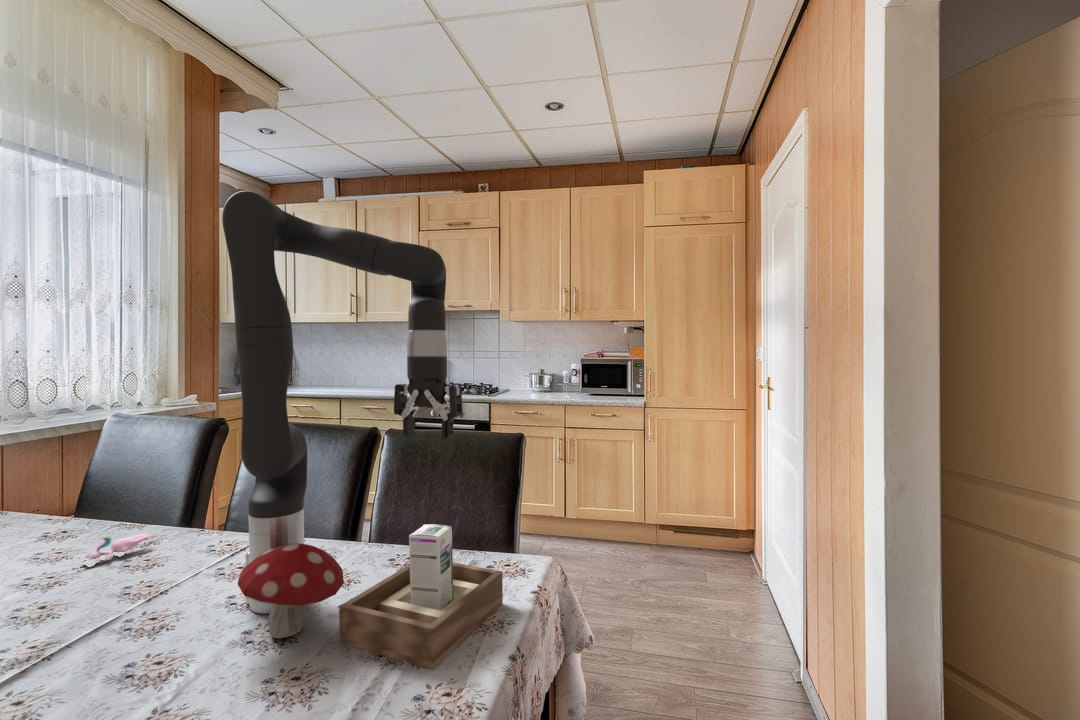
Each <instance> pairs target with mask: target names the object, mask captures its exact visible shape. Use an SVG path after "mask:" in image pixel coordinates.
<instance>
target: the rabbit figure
mask: <svg viewBox="0 0 1080 720" xmlns="http://www.w3.org/2000/svg"><path fill="white" fill-rule="evenodd" d="M154 537H155V536H154V535H151V534H147V533H146V534H144V533H140V534H136V535H133V536H131V537H124V538H120V539H117V540H116V541H114V543H113V544H111V542H112V538H111V537H110V536H105V537H103V538H102V540H104V541H103V542H102V543H101V542H100V544H99V545H98V546H96V549H95V550H94V551H91V552H89V553H88V554H86V555H85V556H84V557H83V558H89V559H88V560H92V559H96V558H99V557H100V556H102V555H105V554H106V555H108V554H109V556H107V558H108V557H110V556H111V555H112V553H113V552H118V553H119V552H126V551H128V550H130V549H132V548H133V549H134V547H135V546H138V545H139V543H142V542H143V541H145V540H146V539H149V538H154ZM110 544H111V547H110V550H108V551H103V552H102V553H101V551H100V550H102V549H103V548H106V547H108V546H110ZM133 549H132V550H133ZM112 556H113V555H112ZM112 556H111V557H112ZM111 557H110V558H111ZM77 559H80V557H79V558H77ZM84 561H87V560H84ZM84 561H83V562H84Z"/></svg>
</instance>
